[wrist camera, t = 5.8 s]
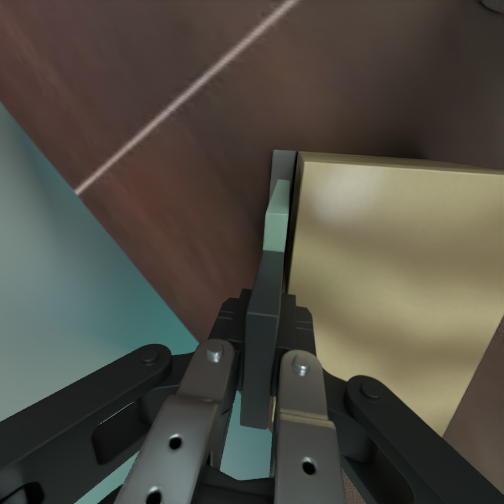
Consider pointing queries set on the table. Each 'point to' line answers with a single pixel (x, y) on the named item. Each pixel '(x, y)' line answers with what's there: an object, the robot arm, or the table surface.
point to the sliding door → (265, 314)
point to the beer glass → (494, 5)
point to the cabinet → (397, 269)
